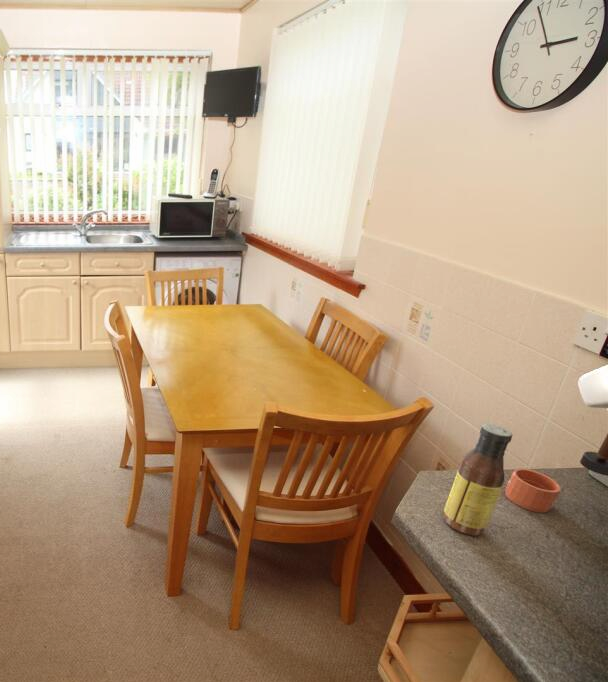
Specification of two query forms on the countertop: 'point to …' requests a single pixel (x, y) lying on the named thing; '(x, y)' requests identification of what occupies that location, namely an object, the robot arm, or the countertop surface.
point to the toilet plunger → (597, 459)
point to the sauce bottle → (478, 482)
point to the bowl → (532, 490)
